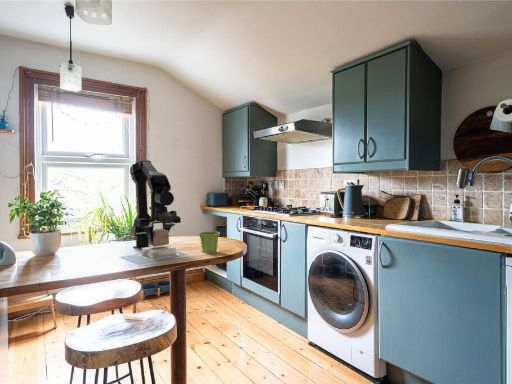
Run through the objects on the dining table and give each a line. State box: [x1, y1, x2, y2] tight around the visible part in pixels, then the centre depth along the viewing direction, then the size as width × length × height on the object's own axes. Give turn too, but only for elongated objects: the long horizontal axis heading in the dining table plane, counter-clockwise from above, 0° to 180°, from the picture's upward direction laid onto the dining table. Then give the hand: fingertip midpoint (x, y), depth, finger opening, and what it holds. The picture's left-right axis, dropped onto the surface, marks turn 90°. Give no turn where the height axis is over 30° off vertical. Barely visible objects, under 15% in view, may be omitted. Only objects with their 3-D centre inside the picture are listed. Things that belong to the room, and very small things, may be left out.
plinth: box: [141, 245, 177, 259], centre depth 130 cm, size 10×10×3 cm
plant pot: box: [198, 230, 221, 254], centre depth 137 cm, size 9×9×9 cm
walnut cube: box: [148, 228, 170, 246], centre depth 130 cm, size 6×6×6 cm
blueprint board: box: [118, 250, 189, 265], centre depth 129 cm, size 17×22×1 cm
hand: (158, 241), depth 130 cm, fingers closed on walnut cube, 6 cm apart
